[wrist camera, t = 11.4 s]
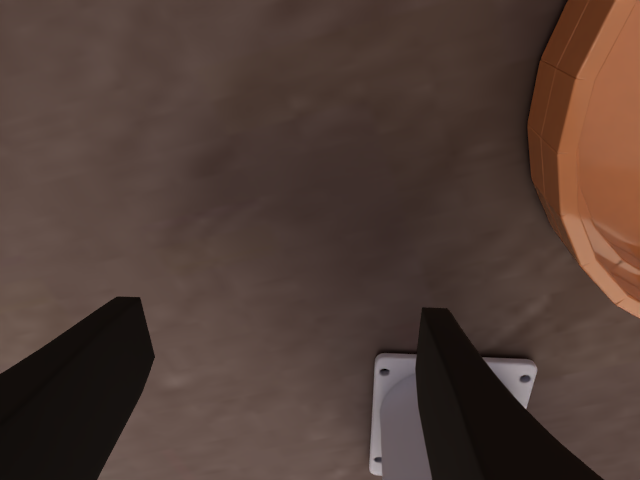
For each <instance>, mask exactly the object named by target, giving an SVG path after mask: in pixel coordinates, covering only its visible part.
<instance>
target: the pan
mask: <svg viewBox="0 0 640 480" xmlns="http://www.w3.org/2000/svg"><path fill="white" fill-rule="evenodd" d="M527 129H528V141H529V154H530V167H531V179H532V180H533V184H534V187H535V189H536V192H537V194H538V196H539V199H540V201H541V204H542V206H543V208H544V211H545V213H546V216H547V218H548V220H549V223H550V225H551V226H552V228H553V229H554V231H555V232H556V233H557V235H558V236H559V238H560V239H561V240H562V242H563V243H564V245H565V246H566V247H567V249H568V250H569V251H570V253H571V254H572V256H573V257H574V258H575V260H576V261H577V263H578V264H579V265H580V267H581V268H582V269H583V270H584V271H585V272H586V274H587V275H588V276H589V277H590V278H591V279H592V280H593V281H594V282H595V284H596V285H597V286H598V287H599V288H600V289H601V290H602V291H603V292H604V294H605V295H606V296H607V297H608V298H609V299H610V300H611V301H612V302H613V303H614V304H615V305H616V306H618V307H620V308H622V309H623V310H625V311H627V312H629V313H630V314H632V315H634V316H636V317H637V318H639V319H640V0H568V1H567V3H566V5H565V8H564V10H563V12H562V14H561V16H560V18H559V20H558V23H557V25H556V27H555V29H554V31H553V33H552V36H551V38H550V40H549V42H548V44H547V46H546V49H545V51H544V53H543V55H542V57H541V60H540V63H539V68H538V73H537V78H536V83H535V88H534V93H533V98H532V103H531V108H530V113H529V118H528V125H527Z"/></svg>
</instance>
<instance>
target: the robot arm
mask: <svg viewBox="0 0 640 480" xmlns="http://www.w3.org/2000/svg"><path fill="white" fill-rule="evenodd" d="M154 358H155V355H154V351H153V347H152V343H151V339H150V335H149V331H148V327H147V323H146V319H145V315H144V311H143V307H142V303H141V299H140V297H116V298H114V299H113V300H111V301H109V302H108V303H106V304H105V305H103V306H102V307H100V308H99V309H97V310H96V311H94V312H93V313H92V314H90V315H89V316H87V317H86V318H84V319H83V320H82V321H80V322H79V323H77V324H76V325H74V326H73V327H72V328H70V329H69V330H67V331H66V332H64V333H63V334H61V335H60V336H58V337H57V338H56V339H54V340H53V341H51V342H50V343H48V344H47V345H45V346H44V347H42V348H41V349H39V350H38V351H36V352H34V353H33V354H31V355H30V356H28V357H27V358H25V359H23V360H22V361H20V362H19V363H17V364H16V365H14V366H12V367H11V368H9V369H8V370H6V371H5V372H3V373H1V374H0V480H97V479H98V477H99V475H100V473H101V471H102V469H103V467H104V465H105V463H106V461H107V459H108V457H109V455H110V453H111V452H112V450H113V448H114V446H115V444H116V442H117V440H118V438H119V436H120V434H121V433H122V431H123V429H124V427H125V425H126V423H127V421H128V419H129V417H130V415H131V413H132V411H133V409H134V408H135V406H136V404H137V402H138V400H139V398H140V396H141V394H142V391H143V389H144V386H145V383H146V381H147V378H148V375H149V373H150V370H151V367H152V364H153V361H154ZM381 369H388V370H381ZM536 373H537V367H536V365H535V363H534V362H533V361H532V360H529V359H513V358H490V357H481V355H480V354H479V353H478V351H477V350H476V349H475V347H474V346H473V344H472V343H471V342H470V340H469V339H468V337H467V336H466V334H465V333H464V332H463V330H462V329H461V327H460V326H459V324H458V323H457V321H456V319H455V318H454V316H453V315H452V313H451V312H450V311H449V310H448V309H447V308H422V312H421V321H420V330H419V339H418V348H417V354H397V353H381V354H379V355H378V356H377V357H376V358H375V369H374V387H373V405H372V423H371V441H370V459H369V470H370V472H371V473H372V474H374V475H380V476H382V480H604V479H603V478H601V477H600V476H599V475H597V474H596V473H595V472H594V471H593V470H591V469H590V468H589V467H588V466H587V465H586V464H584V463H583V462H582V461H581V460H580V459H578V458H577V457H576V456H575V455H574V454H572V453H571V452H570V451H569V450H568V449H567V448H565V447H564V446H563V445H562V444H561V443H560V442H559V441H558V440H557V439H555V438H554V437H553V436H552V435H551V434H550V433H549V432H548V431H547V430H546V429H545V428H544V427H543V426H542V425H541V424H540V423H539V422H538V421H537V420H536V419H535V418H534V417H533V416H532V415H531V414H530V413H529V412H528V411H527V410H526V408H527V405H528V401H529V398H530V394H531V391H532V387H533V384H534V380H535V377H536ZM523 375H526V376H524V377H521V376H523Z"/></svg>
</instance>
